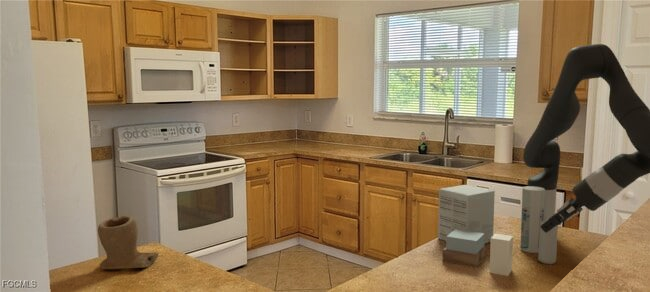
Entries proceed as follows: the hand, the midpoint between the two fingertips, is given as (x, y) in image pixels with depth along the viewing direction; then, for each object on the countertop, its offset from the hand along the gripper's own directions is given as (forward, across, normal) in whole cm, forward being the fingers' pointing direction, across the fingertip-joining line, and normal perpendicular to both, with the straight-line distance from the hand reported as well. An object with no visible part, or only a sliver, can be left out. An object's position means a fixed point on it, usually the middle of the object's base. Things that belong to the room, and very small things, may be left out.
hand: (547, 225), depth 134 cm
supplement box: (+32, -22, -11) cm, 41 cm away
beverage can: (+13, -16, +9) cm, 22 cm away
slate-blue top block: (+25, -4, -8) cm, 26 cm away
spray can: (+18, -24, +4) cm, 30 cm away
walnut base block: (+28, -4, -6) cm, 29 cm away
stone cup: (+82, +60, -60) cm, 118 cm away
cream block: (+19, 0, +2) cm, 19 cm away
